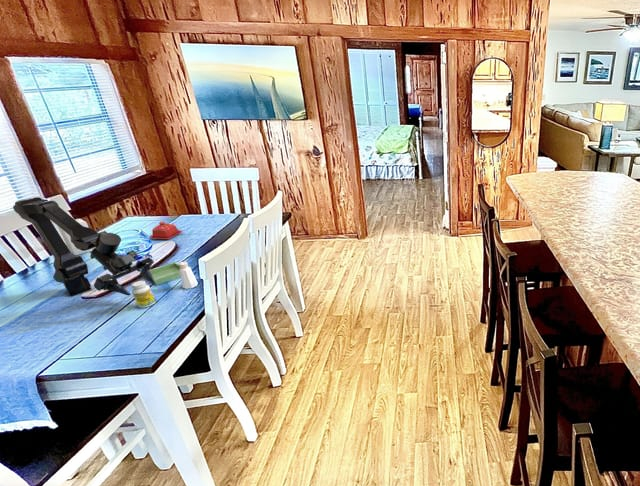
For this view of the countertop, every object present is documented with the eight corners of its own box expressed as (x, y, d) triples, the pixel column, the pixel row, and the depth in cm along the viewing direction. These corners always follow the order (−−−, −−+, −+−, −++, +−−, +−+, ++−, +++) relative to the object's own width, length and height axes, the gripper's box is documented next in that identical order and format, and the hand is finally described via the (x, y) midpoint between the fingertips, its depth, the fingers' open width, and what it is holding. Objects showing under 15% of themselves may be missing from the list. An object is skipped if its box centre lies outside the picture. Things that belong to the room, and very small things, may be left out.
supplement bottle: (156, 299, 155) (148, 278, 151) (155, 305, 151) (146, 284, 147) (139, 302, 152) (130, 281, 148) (137, 309, 148) (128, 288, 144)
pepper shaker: (196, 281, 168) (189, 258, 164) (199, 286, 165) (191, 263, 160) (181, 285, 165) (173, 262, 160) (184, 290, 161) (175, 267, 157)
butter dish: (169, 240, 205) (164, 226, 202) (148, 240, 205) (142, 225, 202) (184, 232, 216) (180, 218, 212) (164, 232, 216) (159, 217, 212)
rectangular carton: (99, 249, 194) (86, 221, 188) (75, 256, 188) (61, 227, 181) (92, 245, 199) (80, 218, 192) (68, 251, 192) (55, 223, 186)
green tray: (156, 285, 164) (154, 280, 163) (145, 277, 171) (143, 271, 169) (188, 274, 174) (187, 269, 173) (176, 266, 180) (175, 261, 179)
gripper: (86, 258, 134) (122, 290, 136) (141, 238, 151) (172, 266, 153) (79, 275, 139) (114, 305, 142) (133, 253, 156) (163, 281, 158)
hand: (142, 288), depth 148 cm, fingers open, 9 cm apart
